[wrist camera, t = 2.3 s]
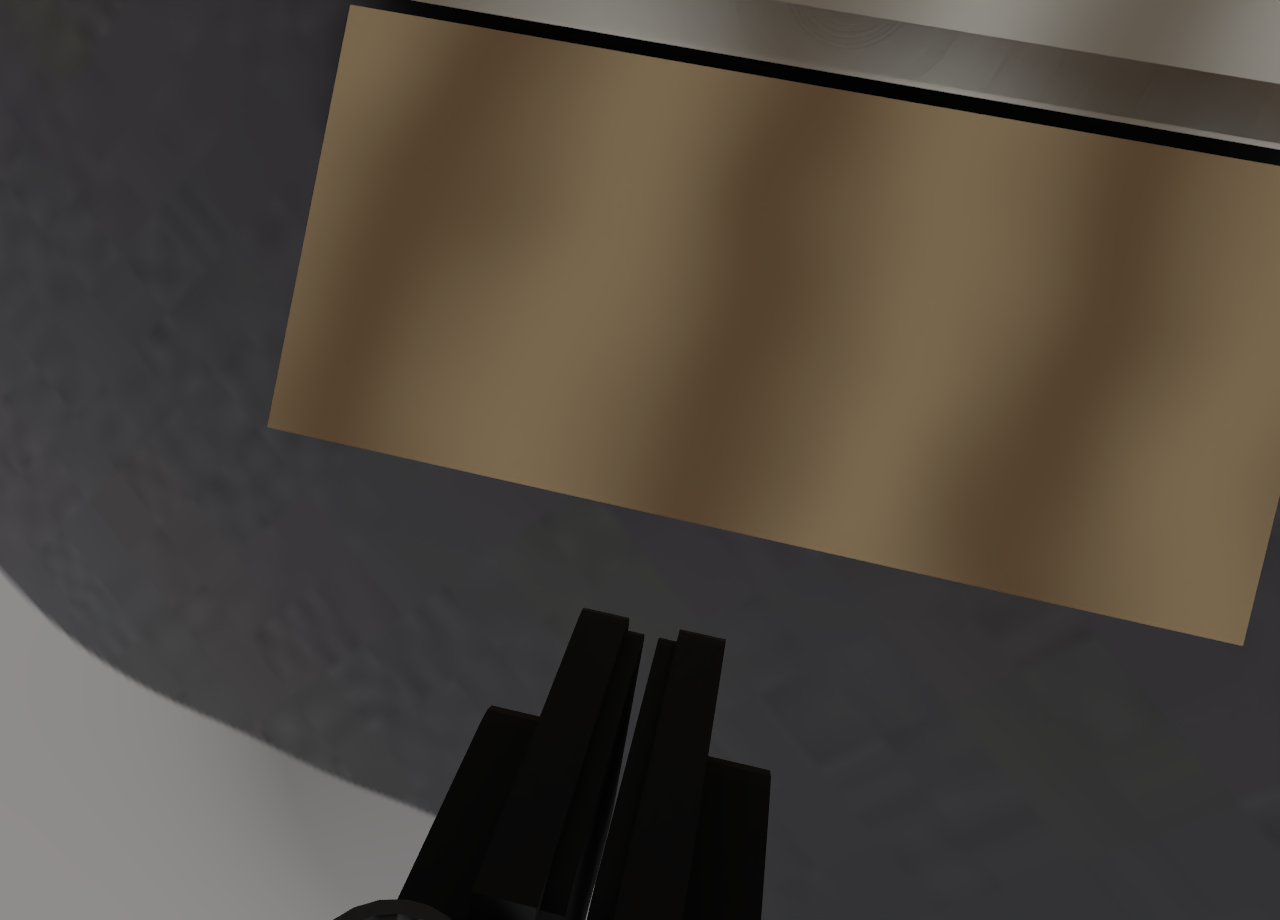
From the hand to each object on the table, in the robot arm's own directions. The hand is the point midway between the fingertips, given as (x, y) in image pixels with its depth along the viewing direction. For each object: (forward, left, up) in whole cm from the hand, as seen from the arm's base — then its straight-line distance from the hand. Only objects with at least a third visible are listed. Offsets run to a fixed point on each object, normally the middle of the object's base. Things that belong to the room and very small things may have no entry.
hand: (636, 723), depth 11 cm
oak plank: (-1, -1, -12) cm, 12 cm away
